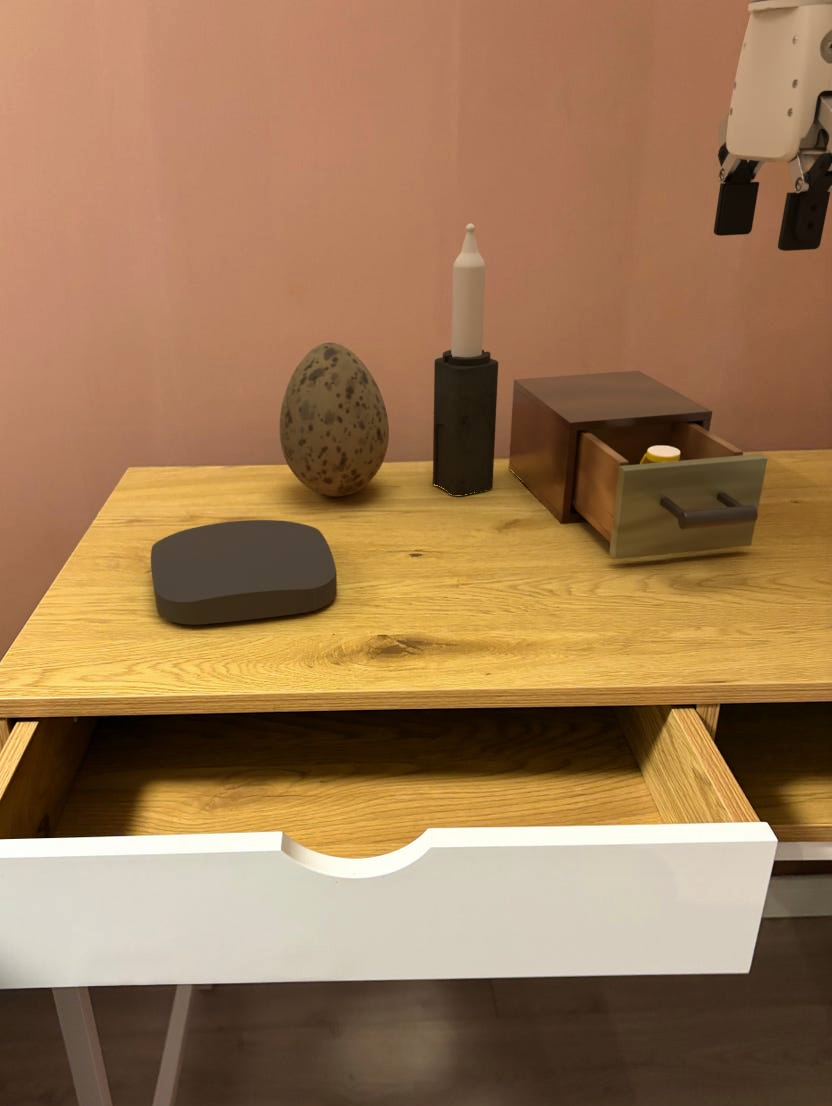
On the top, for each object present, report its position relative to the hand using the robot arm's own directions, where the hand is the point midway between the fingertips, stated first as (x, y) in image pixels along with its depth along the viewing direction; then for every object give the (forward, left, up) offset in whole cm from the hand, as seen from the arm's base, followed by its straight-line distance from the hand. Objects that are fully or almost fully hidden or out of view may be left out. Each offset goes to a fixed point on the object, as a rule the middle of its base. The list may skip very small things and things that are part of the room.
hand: (763, 241), depth 78 cm
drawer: (+7, +3, -23) cm, 25 cm away
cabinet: (+7, -11, -24) cm, 28 cm away
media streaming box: (+44, +3, -24) cm, 50 cm away
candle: (+20, -15, -24) cm, 35 cm away
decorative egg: (+33, -16, -24) cm, 44 cm away
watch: (+7, +1, -22) cm, 24 cm away
